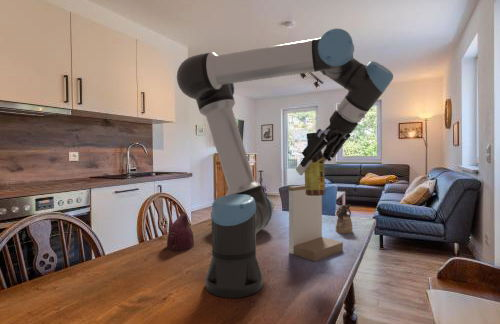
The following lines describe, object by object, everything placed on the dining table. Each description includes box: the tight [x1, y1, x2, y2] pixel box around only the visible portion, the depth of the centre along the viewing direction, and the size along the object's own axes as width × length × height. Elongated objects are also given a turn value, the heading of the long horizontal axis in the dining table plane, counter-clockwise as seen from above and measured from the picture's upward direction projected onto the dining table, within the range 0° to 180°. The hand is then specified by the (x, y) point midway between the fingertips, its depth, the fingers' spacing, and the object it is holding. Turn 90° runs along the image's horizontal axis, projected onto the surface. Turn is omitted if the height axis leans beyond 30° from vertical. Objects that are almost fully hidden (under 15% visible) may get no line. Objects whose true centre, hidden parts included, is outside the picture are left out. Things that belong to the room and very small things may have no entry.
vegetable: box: [166, 211, 195, 252], centre depth 112 cm, size 10×10×15 cm
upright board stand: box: [287, 184, 344, 262], centre depth 105 cm, size 17×11×23 cm, turn 130°
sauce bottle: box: [304, 132, 326, 196], centre depth 95 cm, size 6×6×20 cm
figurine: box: [335, 203, 353, 234], centre depth 132 cm, size 7×7×12 cm
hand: (306, 171), depth 98 cm, fingers closed on sauce bottle, 6 cm apart
